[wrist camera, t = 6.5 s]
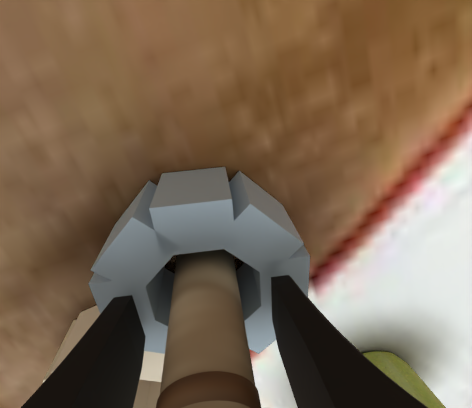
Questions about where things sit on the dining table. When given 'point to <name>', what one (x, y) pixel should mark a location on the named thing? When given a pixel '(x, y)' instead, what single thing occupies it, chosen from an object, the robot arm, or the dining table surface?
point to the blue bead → (199, 248)
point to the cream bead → (150, 367)
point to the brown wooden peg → (207, 337)
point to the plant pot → (404, 377)
